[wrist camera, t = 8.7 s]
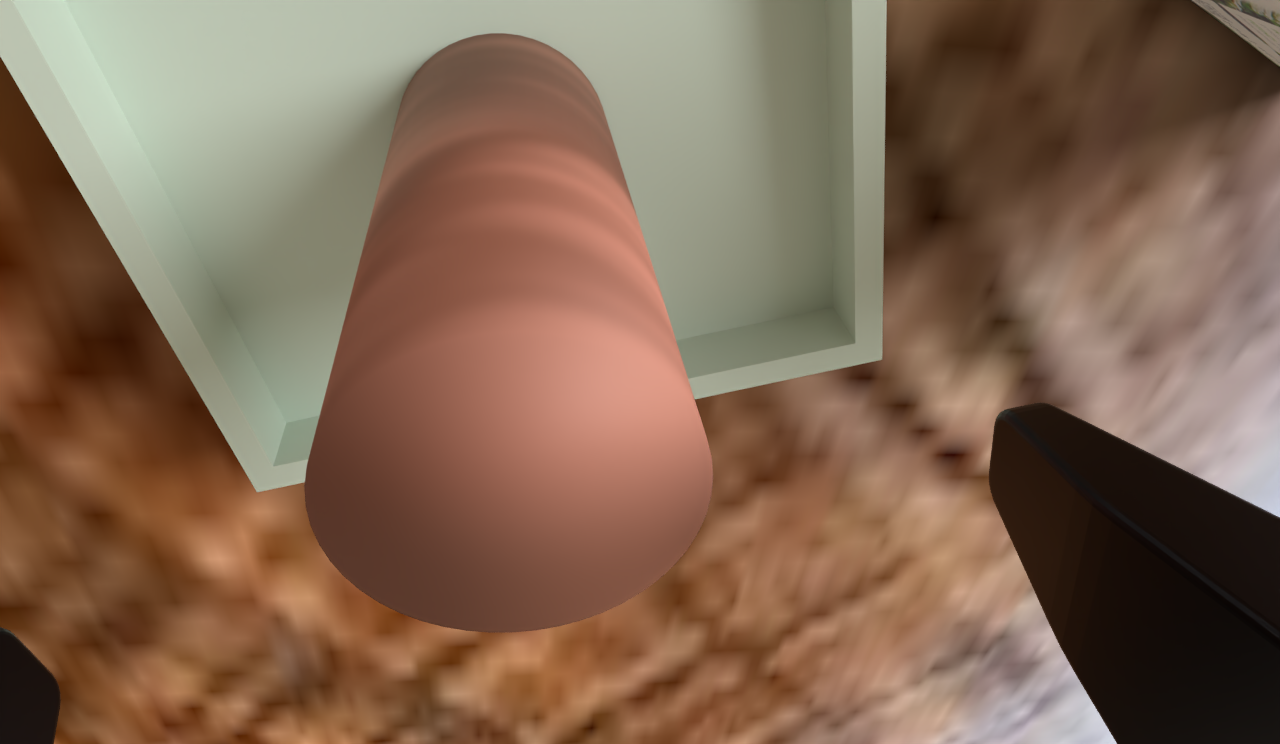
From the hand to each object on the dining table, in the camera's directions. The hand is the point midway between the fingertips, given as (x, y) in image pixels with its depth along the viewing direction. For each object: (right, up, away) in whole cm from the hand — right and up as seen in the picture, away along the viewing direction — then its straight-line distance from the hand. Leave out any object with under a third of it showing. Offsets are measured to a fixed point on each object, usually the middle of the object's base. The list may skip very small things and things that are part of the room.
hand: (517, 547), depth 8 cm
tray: (-2, +7, +10) cm, 12 cm away
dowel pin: (-2, +6, +9) cm, 11 cm away
